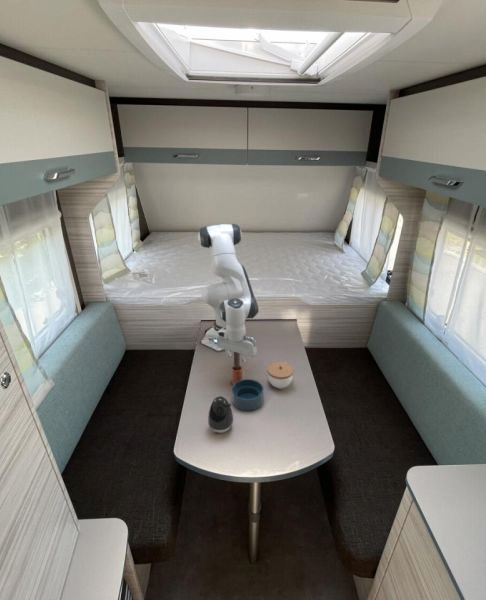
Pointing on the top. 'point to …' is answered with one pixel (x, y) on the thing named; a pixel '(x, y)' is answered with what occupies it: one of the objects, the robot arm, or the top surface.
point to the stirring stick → (236, 361)
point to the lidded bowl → (280, 374)
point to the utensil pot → (237, 375)
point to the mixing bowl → (247, 394)
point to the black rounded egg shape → (220, 415)
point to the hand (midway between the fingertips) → (236, 358)
